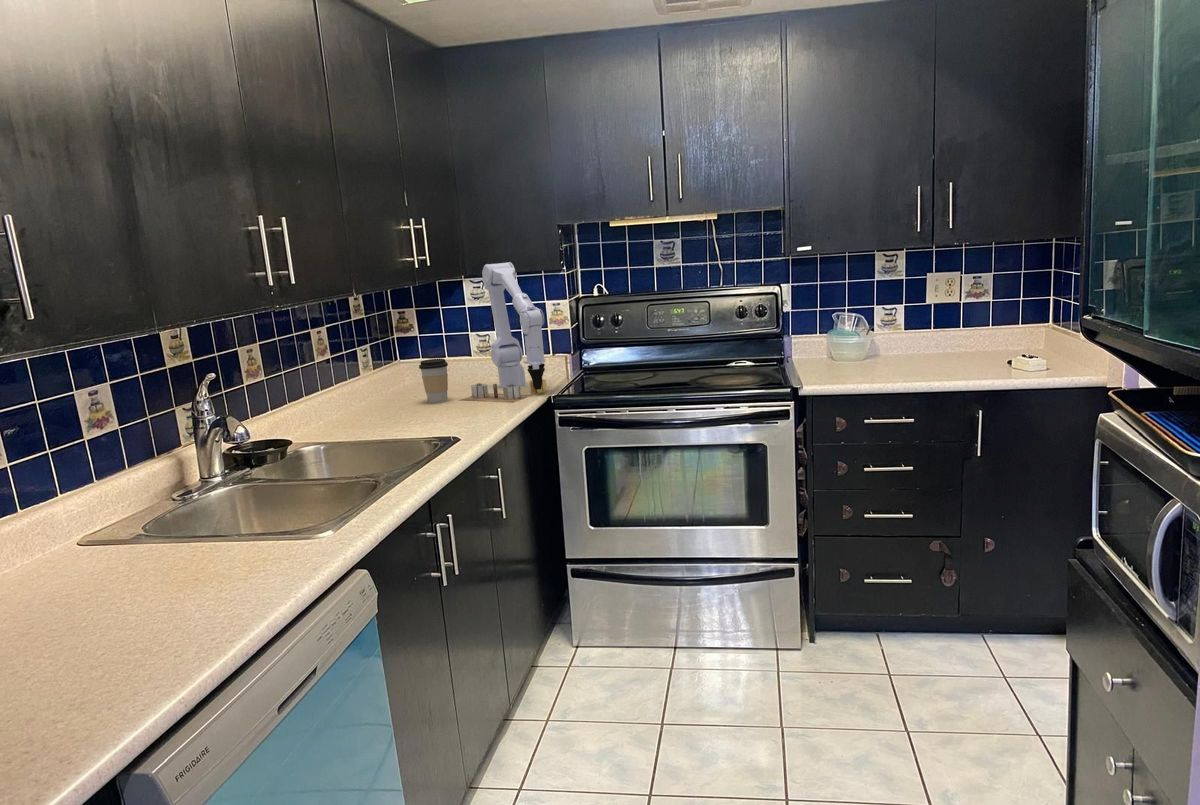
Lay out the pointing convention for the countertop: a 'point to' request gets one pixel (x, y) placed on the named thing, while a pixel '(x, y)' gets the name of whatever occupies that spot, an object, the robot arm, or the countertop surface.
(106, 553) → the countertop surface
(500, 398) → the gear board
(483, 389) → the steel gear
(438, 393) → the coffee cup
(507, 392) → the steel gear
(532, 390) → the brass gear
